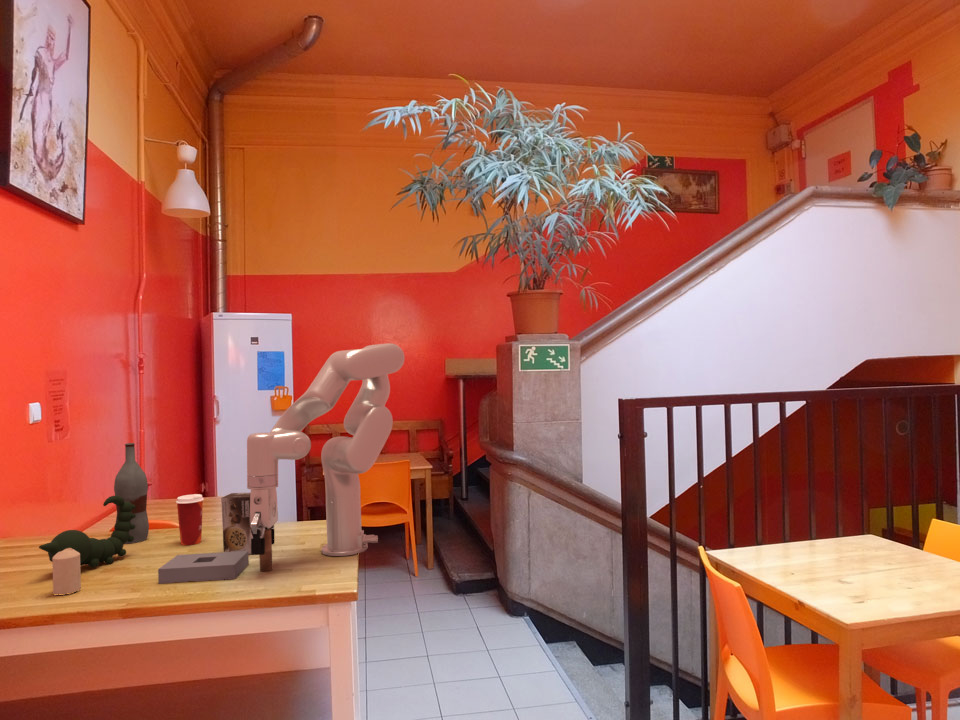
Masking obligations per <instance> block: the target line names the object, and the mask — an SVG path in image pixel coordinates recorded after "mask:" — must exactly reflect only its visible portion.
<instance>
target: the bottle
mask: <svg viewBox="0 0 960 720" xmlns="http://www.w3.org/2000/svg"><path fill="white" fill-rule="evenodd" d="M124 447H125V450H124V452H125V453H124V455H125V458H124V459H125V460H124V463H123V464H122V466H121V467H120V469H119V471H118V472H117V474H116V475H115V479H114V485H113V490H114V491H113V492H114V496H115V495H117V496H121V497H123V499H124V502H125V501H128V502H130V503H132V505H135V508H134V509H132V511H131V512H132V513H134V514H135V515H136V517H135V518H133V519H131V521H130V522H131V524H134V525H135V529H130V531H129V534H130V536H133V537H134V540H133V541H132V542H128V541H127V542H126V543H125V544H124V545H130V544H137V543H142V542H145V541H147V540H148V537H149V531H150V529H149V528H150V524H149V523H150V522H149V517H148V512H147V506H148V504H147V503H148V501H147V500H148V490H149V489H148V488H149V485H148V478H147V474H146V473H145V471H144V469H143V468H142V467H141V466H140V464H138V462H137V460H136V450H135V449H136V447H135V443H134V442H128V443H127V442H126V443H125V444H124ZM115 507H116V515H117V514H118V512H119V506H117V505H115ZM117 521H118V520H117V516H116V519H115V523H116V522H117Z"/></svg>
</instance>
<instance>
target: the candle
mask: <svg viewBox="0 0 960 720" xmlns="http://www.w3.org/2000/svg"><path fill="white" fill-rule="evenodd" d="M51 563H52V591H53V592H52V594H53V595H54V594H58V595H59V594H67V593H72V592H75V591H78V590H80V589H82V581H81V580H82V575H81V574H82V573H81V566H80V553H79V552H77V551H75V550H74V549H72V548H67V549H64V550H63V551H61V552H58V553H57V554H56V555H55V556H54V557H53V558H52V562H51ZM80 591H81V590H80ZM78 592H79V591H78Z"/></svg>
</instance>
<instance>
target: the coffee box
mask: <svg viewBox="0 0 960 720" xmlns="http://www.w3.org/2000/svg"><path fill="white" fill-rule="evenodd" d="M250 494H251V492H231V493H229V494H227V495H225V496H223V497H221V498H220V501H221V520H222V522H221V523H222V524H221V525H222V542H223V543H222V544H223V549H222V550H223V552H237V551H248V555H252V554H251V531H252V528H251V527H250Z"/></svg>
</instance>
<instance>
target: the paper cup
mask: <svg viewBox="0 0 960 720" xmlns="http://www.w3.org/2000/svg"><path fill="white" fill-rule="evenodd" d="M204 500H205V498H204V497H203V494H200V493H199V494H198V493H194V494H186V495H181V496H178V497H177V498H176V501H175V503H176V506H177V519H178V527H179V538H180V545H181V546H187V547H188V546H193V545H194V544H195V545H199V544H200V543H202V532H203V531H202V530H203V506H204V503H203V502H204ZM195 545H194V546H195Z"/></svg>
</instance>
